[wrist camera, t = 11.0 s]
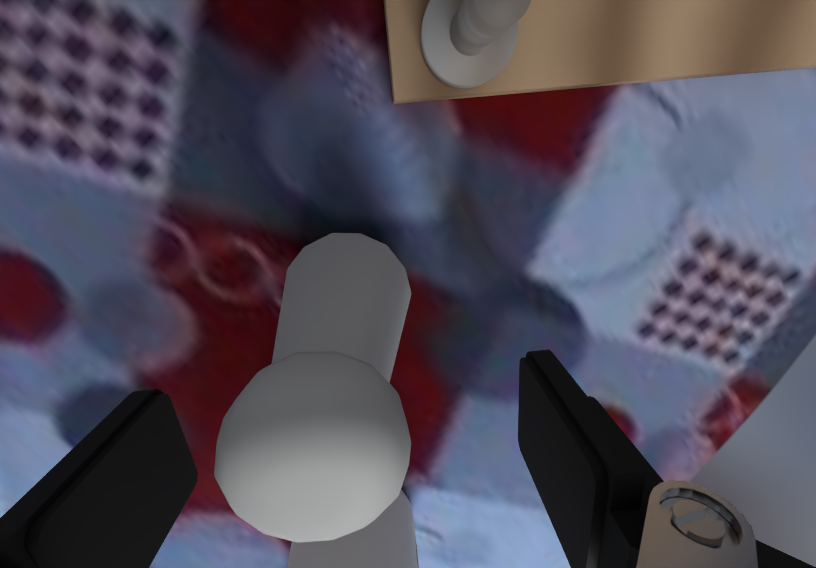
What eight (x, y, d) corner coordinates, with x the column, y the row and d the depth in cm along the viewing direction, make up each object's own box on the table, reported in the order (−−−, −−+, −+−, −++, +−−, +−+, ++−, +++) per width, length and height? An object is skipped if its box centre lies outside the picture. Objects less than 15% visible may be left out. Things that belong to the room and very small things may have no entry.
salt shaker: (376, 202, 18) (377, 319, 6) (423, 298, 20) (492, 526, 8) (272, 253, 19) (87, 450, 7) (328, 341, 21) (262, 616, 9)
